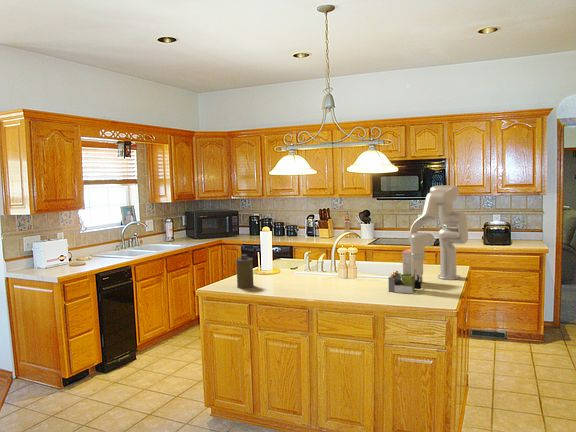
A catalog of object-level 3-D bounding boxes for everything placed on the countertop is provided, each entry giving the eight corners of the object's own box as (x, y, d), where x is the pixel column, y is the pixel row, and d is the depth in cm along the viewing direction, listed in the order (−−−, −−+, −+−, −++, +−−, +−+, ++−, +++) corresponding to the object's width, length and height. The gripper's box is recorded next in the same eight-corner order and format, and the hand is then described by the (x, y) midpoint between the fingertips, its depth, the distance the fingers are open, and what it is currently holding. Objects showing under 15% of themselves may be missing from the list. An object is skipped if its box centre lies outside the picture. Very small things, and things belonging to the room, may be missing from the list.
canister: (250, 288, 286) (249, 256, 285) (234, 288, 289) (233, 256, 287) (256, 284, 297) (254, 253, 295) (240, 284, 299) (239, 253, 298)
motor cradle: (395, 286, 279) (395, 269, 279) (418, 287, 273) (418, 270, 272) (388, 291, 266) (388, 274, 265) (412, 293, 260) (412, 276, 259)
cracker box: (413, 281, 291) (413, 247, 289) (422, 282, 287) (422, 248, 285) (402, 285, 281) (401, 250, 279) (411, 286, 277) (411, 251, 275)
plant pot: (414, 292, 262) (414, 277, 261) (398, 291, 267) (397, 276, 266) (420, 288, 269) (419, 273, 269) (404, 287, 275) (403, 273, 274)
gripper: (413, 254, 272) (414, 285, 274) (407, 258, 259) (408, 291, 261) (427, 254, 269) (427, 286, 270) (421, 259, 256) (422, 292, 257)
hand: (418, 288), depth 266 cm, fingers closed
